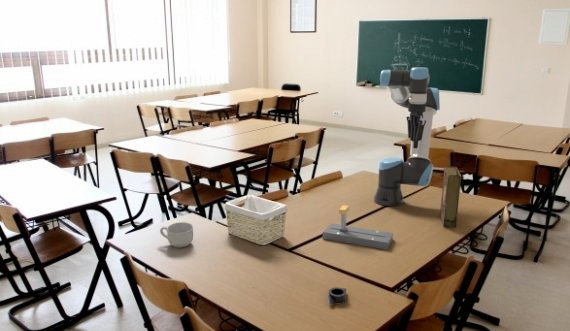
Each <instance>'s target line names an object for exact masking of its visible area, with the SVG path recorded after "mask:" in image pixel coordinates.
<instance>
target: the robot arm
mask: <svg viewBox="0 0 570 331" xmlns="http://www.w3.org/2000/svg"><path fill="white" fill-rule="evenodd" d="M379 76H380V77H379V82H380V83H379V85H380V86H382V87H387V88H388V89H389V92H390V97H391V99H392V101H393V103H395V104H396V105H398V106H400V107H402V108H404V109H407V111H408V112H409V116H406V121H407V123H406V124H407V137H408V138H409V140H410V149H409V151H410V152H409V155H410V156H409V157H408V158H407V161H404V160H403V159H402V157H400V158H399V157H388V158H383V159H381V160H380V161H379V166H378V167H379V168H378V180H377V181H378V184H377V189H376V191H375V194H374V196H373V197H374V198H373V202H374V203H375V204H377V205H381V206H385V207H398V206H401V205H403V204H404V196H403V193H402V192H403V191H402V188H401V186H402V185H404V186H405V185H408V186H415V187H416V186H417V187H428V186H429V184H430V182H431V179H432V176H433V170H434V164H432V161H431V159H430V158H429V154H430V147H431V146H430V144H431V139H432V138H431V136H432V128H433V118H434V116H435V115H436V114H437V111H440V109H441V108H440V106H441V105H440V104H441V102H440V90H439V88H437V87H428V85H429V84H430V82H431V77H430V74H429V68H428V67H420V66H418V67H417V66H416V67H415V66H414V67H412V68H410V70H403V69H402V70H401V69H400V70H399V69H396V70H395V69H383V70H381V72H380V75H379Z"/></svg>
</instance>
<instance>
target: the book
mask: <svg viewBox="0 0 570 331" xmlns="http://www.w3.org/2000/svg"><path fill="white" fill-rule="evenodd" d="M443 167H444V168H443V178H442V190H441V191H442V192H441V200H440V202H441V203H440V211H439V217H440V221H441V224H442V227H443V228H444V227H446V228H447V227H451V228H454V229H455V228H457V224H458V223H457V221H458V212H459V202H460V193H461V192H460V191H461V181H462V174H461V173H460V171H459V169H458V167H457V166H453V165H452V166H448V165H445V166H443Z"/></svg>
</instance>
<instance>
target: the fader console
mask: <svg viewBox="0 0 570 331" xmlns="http://www.w3.org/2000/svg"><path fill="white" fill-rule="evenodd" d="M340 227H341V224H338V223H337V224H336V223H329V225H328V226H327V227H326V228H325V229H324V230H323V231H322V239H324V240H329V241H334V242H335V241H336V242H340V243H341V242H342V243H348V244H352V245H359V246H364V247H370V248H375V249H376V248H377V249H381V250H388V249H389V248H390V246H389V245H391V243H392V242H393V239H394V233H393V232H388V231H383V230H375V229H370V228H362V227H356V226H350V225H346V227H348V229H347V230H346V231H342V230H339V228H340Z"/></svg>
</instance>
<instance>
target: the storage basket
mask: <svg viewBox="0 0 570 331" xmlns="http://www.w3.org/2000/svg"><path fill="white" fill-rule="evenodd" d="M242 204H243V206H239V205H242ZM224 209H225V211H226V214H225V215H226V221H227V222H226V225H227V230H228V231H227V232H228V234H229V233H230V234H231V235H232V236H235V237H237V238H241V239H243V240H246V241H249V242H251V243H254V244H257V245H259V246H260V245H261V246H265V245H268V244H270V243H273V242H275V241H277V240H278V239H279V240H280V239H281V238H283V237H284V236H285V228H286V217H287V212H288V205H287V204H283V203H281V202H278V201H272V200H269V199H266V198H263V197H260V196H256V195H252V194H247V195H244V196H241V197H238V198H235V199H231V200H229V201H226V202H225V205H224ZM230 234H229V235H230Z"/></svg>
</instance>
